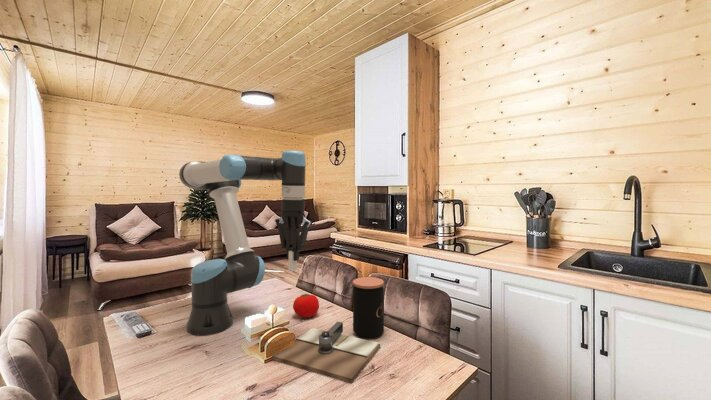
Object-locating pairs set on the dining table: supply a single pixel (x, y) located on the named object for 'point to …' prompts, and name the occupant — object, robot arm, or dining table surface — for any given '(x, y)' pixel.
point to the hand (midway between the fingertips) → (292, 269)
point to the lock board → (329, 355)
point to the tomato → (306, 305)
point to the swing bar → (330, 336)
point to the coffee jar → (368, 307)
